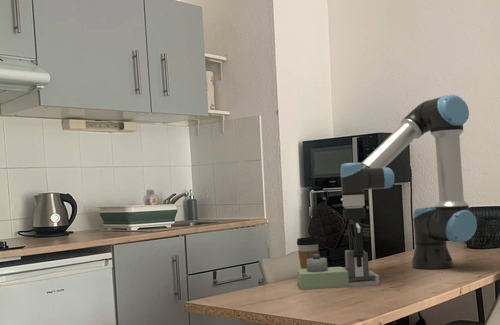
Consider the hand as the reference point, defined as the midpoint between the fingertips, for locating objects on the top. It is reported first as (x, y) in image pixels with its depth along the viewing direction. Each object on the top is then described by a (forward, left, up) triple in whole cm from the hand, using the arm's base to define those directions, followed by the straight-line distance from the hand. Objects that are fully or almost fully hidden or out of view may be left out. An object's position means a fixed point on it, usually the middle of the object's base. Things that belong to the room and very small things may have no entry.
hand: (357, 275), depth 193 cm
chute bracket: (0, 0, -3) cm, 3 cm away
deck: (+12, 0, -3) cm, 13 cm away
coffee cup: (+14, -19, -3) cm, 24 cm away
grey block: (0, 0, 0) cm, 0 cm away
